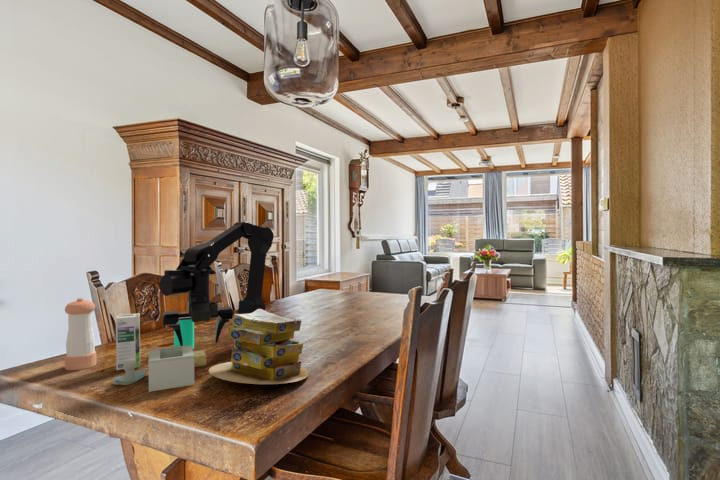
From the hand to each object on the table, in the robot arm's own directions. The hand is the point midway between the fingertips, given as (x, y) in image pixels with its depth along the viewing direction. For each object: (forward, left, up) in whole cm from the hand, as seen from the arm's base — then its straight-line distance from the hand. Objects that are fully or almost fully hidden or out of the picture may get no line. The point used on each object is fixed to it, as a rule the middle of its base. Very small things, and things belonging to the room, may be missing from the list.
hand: (199, 345), depth 115 cm
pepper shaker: (+30, -12, -5) cm, 33 cm away
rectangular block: (0, 0, -5) cm, 5 cm away
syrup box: (+18, -6, -5) cm, 20 cm away
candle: (+3, -18, -5) cm, 19 cm away
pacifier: (+17, +8, -6) cm, 20 cm away
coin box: (+8, +12, -5) cm, 15 cm away
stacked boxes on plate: (-13, +20, -6) cm, 24 cm away
